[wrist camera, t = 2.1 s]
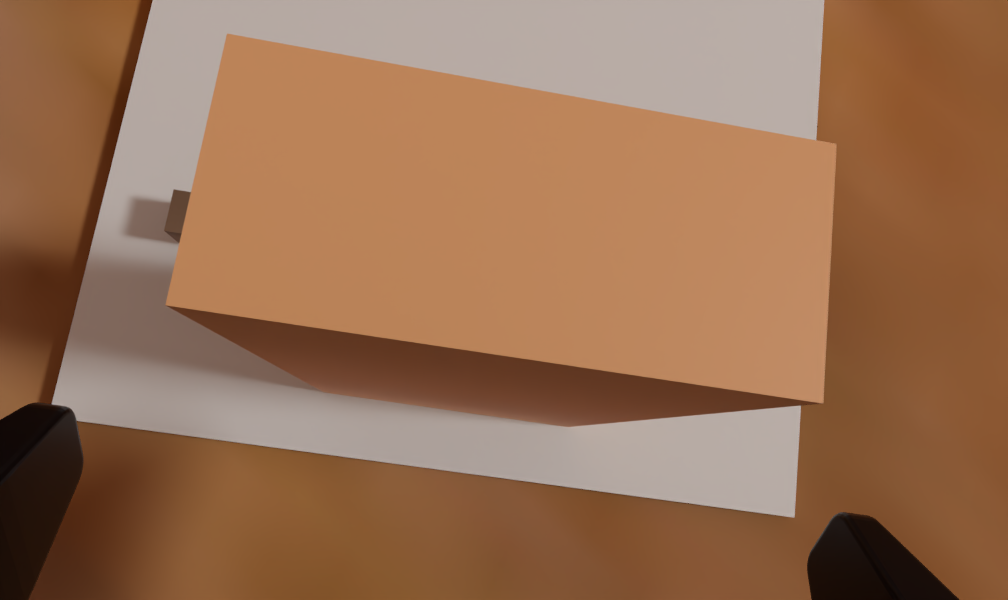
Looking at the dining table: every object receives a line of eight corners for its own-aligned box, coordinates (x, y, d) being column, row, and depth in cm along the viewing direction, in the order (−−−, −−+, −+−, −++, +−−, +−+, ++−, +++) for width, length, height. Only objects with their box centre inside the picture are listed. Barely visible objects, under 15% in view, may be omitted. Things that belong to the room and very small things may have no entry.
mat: (786, 516, 19) (794, 517, 19) (55, 417, 18) (48, 416, 18) (832, -262, 24) (839, -274, 24) (258, -395, 23) (255, -409, 22)
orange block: (568, 427, 19) (822, 402, 7) (323, 392, 18) (164, 305, 7) (580, 324, 19) (836, 144, 8) (342, 287, 19) (226, 33, 7)
